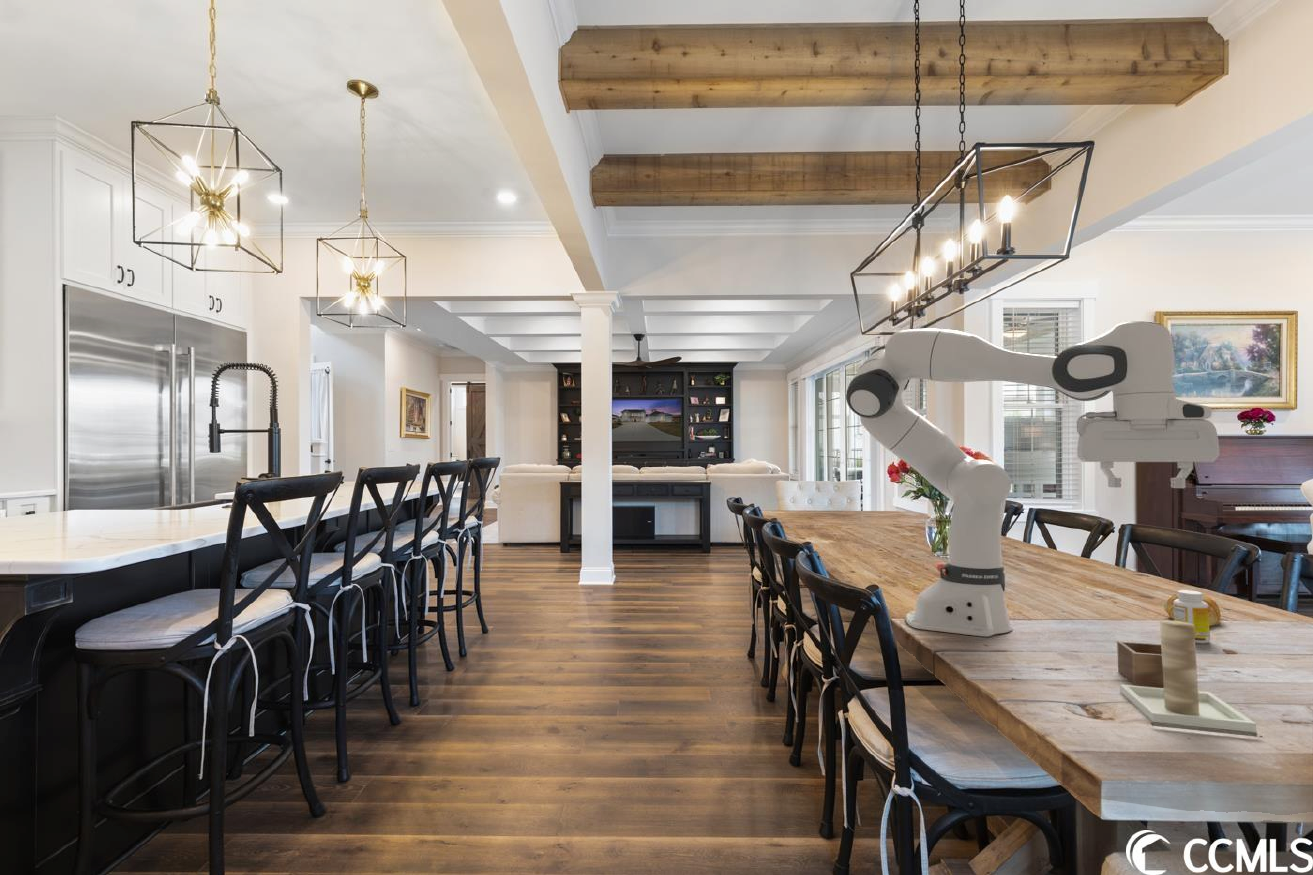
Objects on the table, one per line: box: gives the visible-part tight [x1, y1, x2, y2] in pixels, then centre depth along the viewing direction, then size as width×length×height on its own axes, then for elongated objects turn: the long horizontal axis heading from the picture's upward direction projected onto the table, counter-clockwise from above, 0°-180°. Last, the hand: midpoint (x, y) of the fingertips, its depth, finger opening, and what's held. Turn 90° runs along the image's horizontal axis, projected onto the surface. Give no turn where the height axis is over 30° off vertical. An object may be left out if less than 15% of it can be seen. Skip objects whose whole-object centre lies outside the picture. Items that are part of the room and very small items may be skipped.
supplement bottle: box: [1173, 589, 1211, 644], centre depth 130 cm, size 6×6×10 cm
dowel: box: [1159, 619, 1199, 715], centre depth 93 cm, size 4×4×13 cm
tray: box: [1119, 683, 1258, 737], centre depth 93 cm, size 12×12×2 cm
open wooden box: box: [1116, 640, 1164, 688], centre depth 105 cm, size 7×7×6 cm
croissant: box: [1163, 593, 1221, 627], centre depth 145 cm, size 21×10×8 cm, turn 134°
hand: (1145, 487), depth 109 cm, fingers open, 8 cm apart
